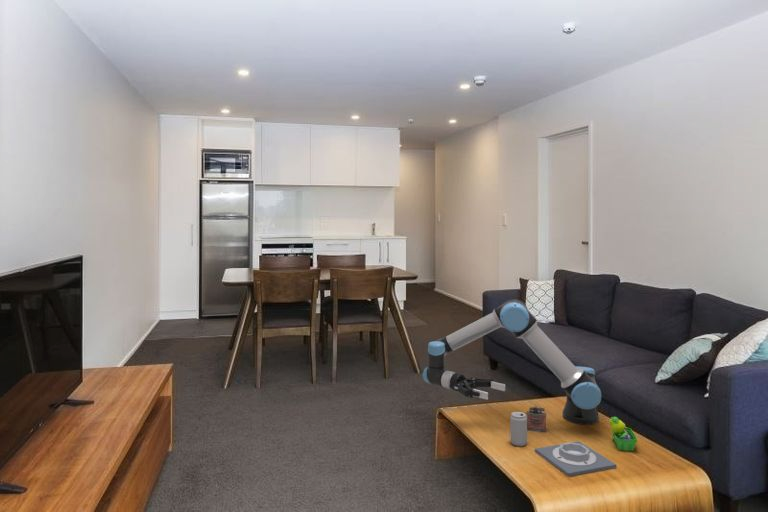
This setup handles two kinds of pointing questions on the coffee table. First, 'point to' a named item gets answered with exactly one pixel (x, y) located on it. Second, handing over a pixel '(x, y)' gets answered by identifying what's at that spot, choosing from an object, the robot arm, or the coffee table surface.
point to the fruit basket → (622, 435)
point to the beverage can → (518, 428)
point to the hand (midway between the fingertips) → (496, 391)
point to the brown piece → (536, 419)
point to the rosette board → (575, 469)
